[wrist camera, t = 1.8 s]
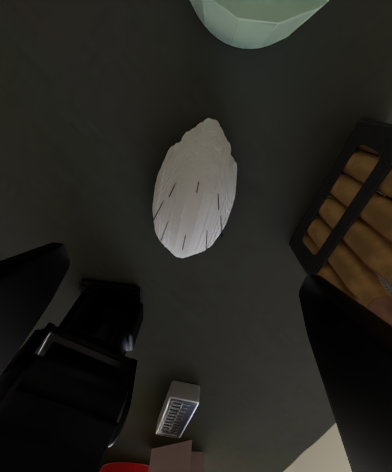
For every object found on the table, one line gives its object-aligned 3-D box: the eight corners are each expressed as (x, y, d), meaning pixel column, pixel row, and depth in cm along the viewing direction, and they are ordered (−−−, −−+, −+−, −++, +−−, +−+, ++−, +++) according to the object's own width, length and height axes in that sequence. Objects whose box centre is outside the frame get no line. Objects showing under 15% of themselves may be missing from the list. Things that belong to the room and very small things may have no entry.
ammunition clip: (361, 117, 15) (675, 152, 5) (386, 124, 15) (744, 175, 5) (288, 245, 21) (362, 388, 10) (307, 250, 21) (398, 396, 10)
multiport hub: (200, 385, 34) (199, 403, 32) (181, 423, 42) (179, 439, 40) (172, 379, 34) (169, 397, 32) (157, 418, 42) (155, 434, 40)
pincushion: (210, 260, 22) (209, 305, 17) (149, 246, 22) (130, 288, 17) (254, 130, 16) (272, 142, 11) (170, 107, 16) (150, 109, 11)
